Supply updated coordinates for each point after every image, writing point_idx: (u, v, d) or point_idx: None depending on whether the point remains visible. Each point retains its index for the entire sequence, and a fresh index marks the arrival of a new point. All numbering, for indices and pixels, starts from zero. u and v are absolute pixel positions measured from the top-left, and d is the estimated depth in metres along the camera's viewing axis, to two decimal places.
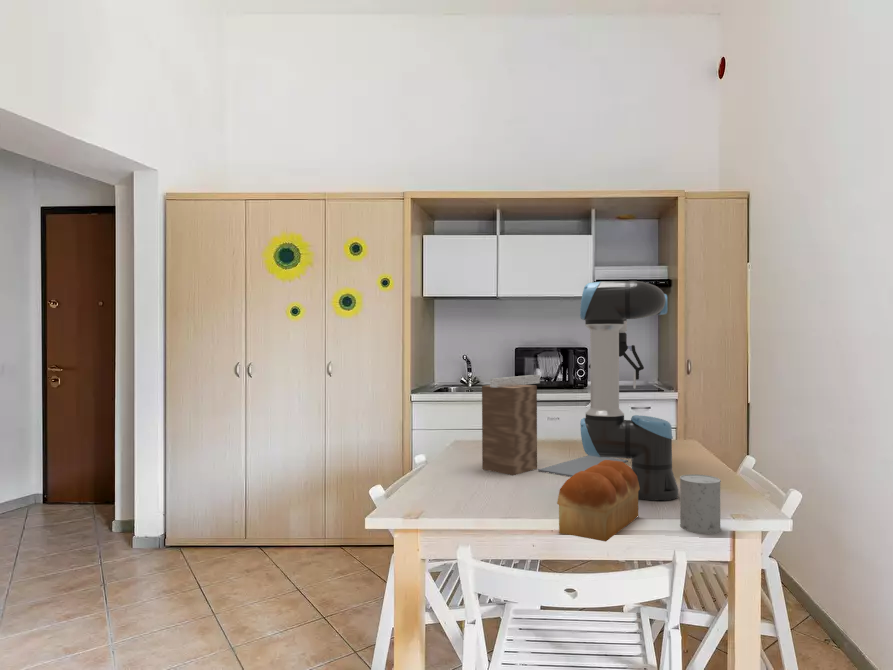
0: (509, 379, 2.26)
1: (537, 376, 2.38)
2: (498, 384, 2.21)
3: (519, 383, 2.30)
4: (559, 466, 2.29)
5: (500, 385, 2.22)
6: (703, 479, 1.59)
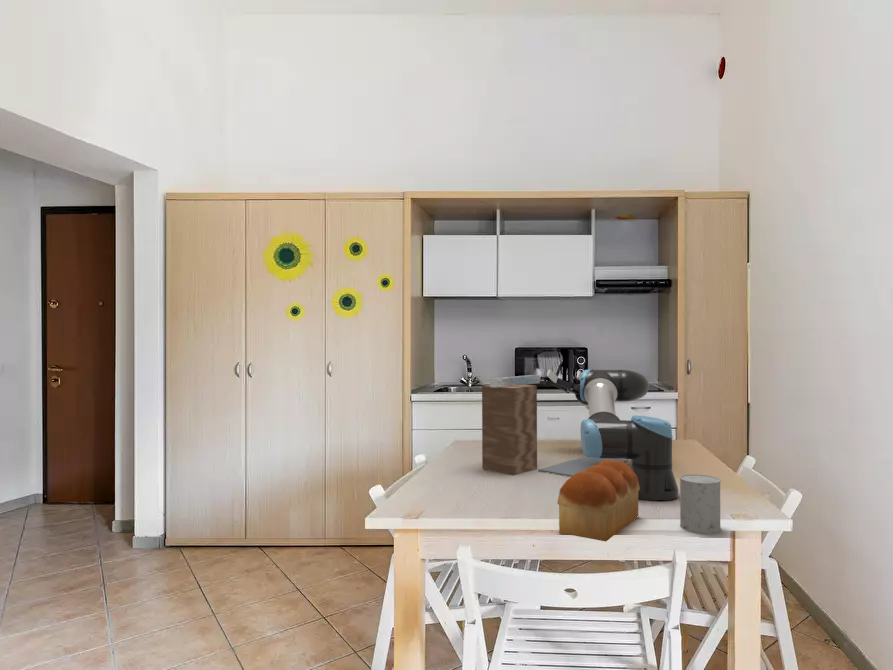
0: (509, 379, 2.26)
1: (537, 376, 2.38)
2: (498, 384, 2.21)
3: (519, 383, 2.30)
4: (559, 466, 2.29)
5: (500, 385, 2.22)
6: (703, 479, 1.59)
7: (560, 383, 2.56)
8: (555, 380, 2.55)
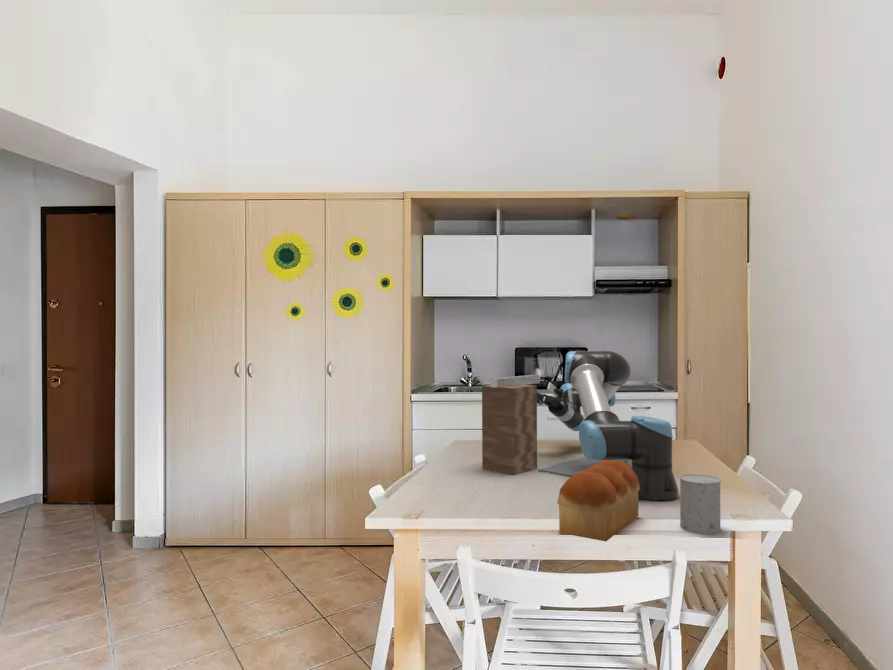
0: (509, 379, 2.26)
1: (537, 376, 2.38)
2: (498, 384, 2.21)
3: (519, 383, 2.30)
4: (559, 466, 2.29)
5: (500, 385, 2.22)
6: (703, 479, 1.59)
7: None
8: None
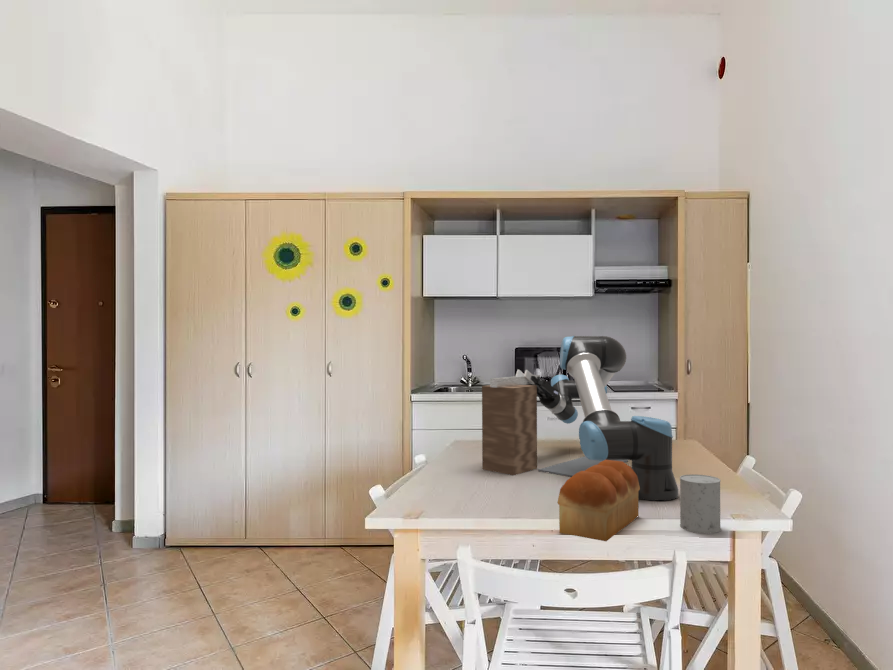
0: (509, 379, 2.26)
1: (537, 376, 2.38)
2: (498, 384, 2.21)
3: (519, 383, 2.30)
4: (559, 466, 2.29)
5: (500, 385, 2.22)
6: (703, 479, 1.59)
7: None
8: None
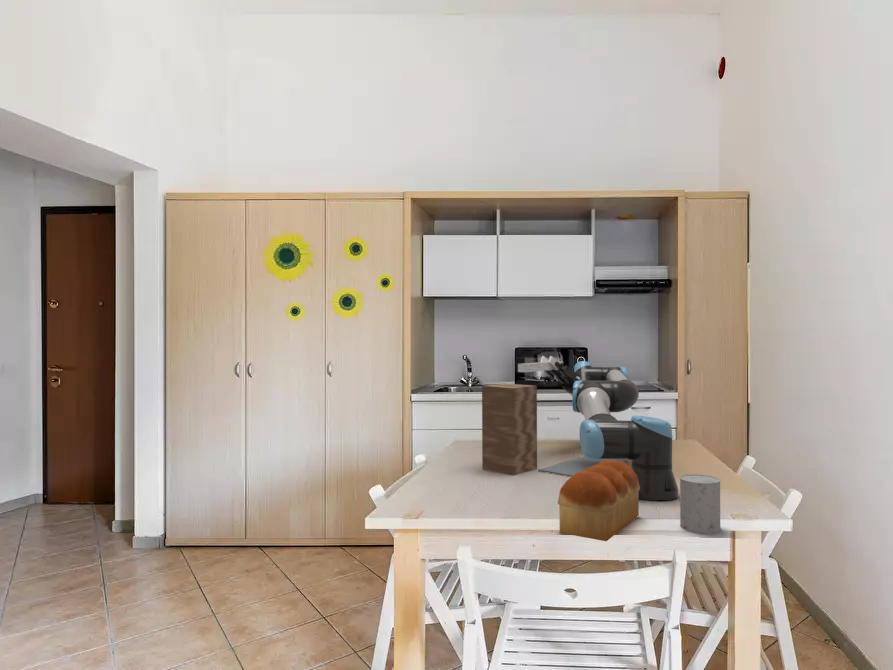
0: (535, 364, 2.38)
1: (560, 362, 2.51)
2: (525, 369, 2.34)
3: (544, 368, 2.43)
4: (559, 466, 2.29)
5: (527, 370, 2.34)
6: (703, 479, 1.59)
7: (553, 371, 2.53)
8: None
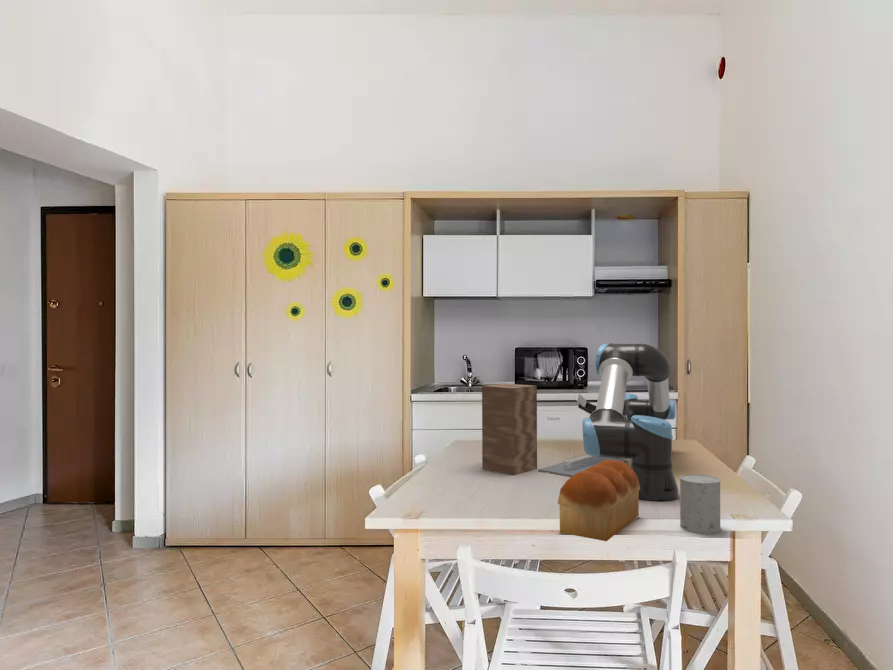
0: (581, 460, 2.27)
1: None
2: (571, 467, 2.22)
3: (589, 463, 2.31)
4: (559, 466, 2.29)
5: (573, 468, 2.23)
6: (703, 479, 1.59)
7: (589, 407, 2.44)
8: (584, 404, 2.43)
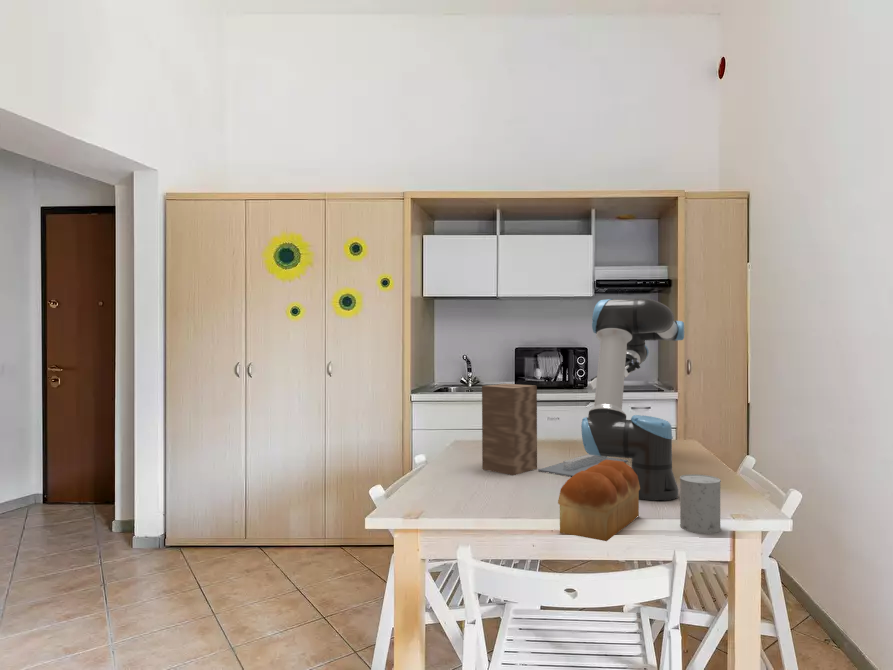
0: (581, 460, 2.27)
1: None
2: (571, 467, 2.22)
3: (589, 463, 2.31)
4: (559, 466, 2.29)
5: (573, 468, 2.23)
6: (703, 479, 1.59)
7: None
8: None
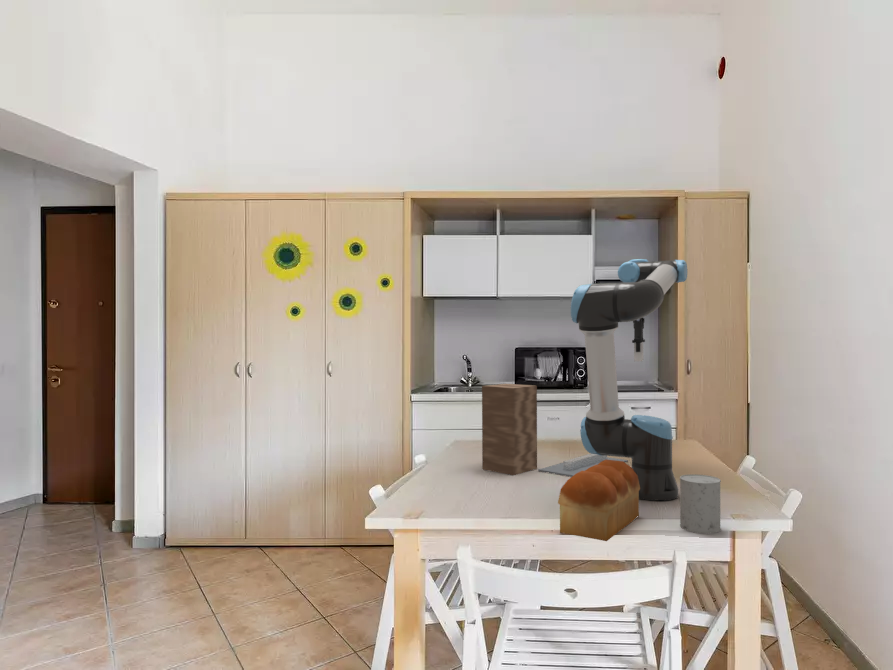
0: (581, 460, 2.27)
1: None
2: (571, 467, 2.22)
3: (589, 463, 2.31)
4: (559, 466, 2.29)
5: (573, 468, 2.23)
6: (703, 479, 1.59)
7: None
8: None
